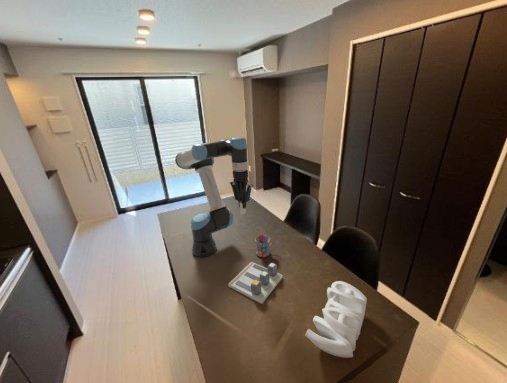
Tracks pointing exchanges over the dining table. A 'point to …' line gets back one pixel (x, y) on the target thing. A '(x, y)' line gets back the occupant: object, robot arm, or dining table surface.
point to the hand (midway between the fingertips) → (243, 213)
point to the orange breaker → (256, 287)
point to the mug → (263, 245)
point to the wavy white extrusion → (340, 320)
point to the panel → (261, 274)
